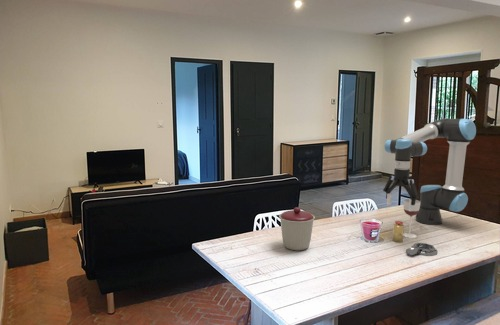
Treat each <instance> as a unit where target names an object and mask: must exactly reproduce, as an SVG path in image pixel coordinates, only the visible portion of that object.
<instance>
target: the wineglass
mask: <svg viewBox="0 0 500 325" xmlns="http://www.w3.org/2000/svg"><path fill="white" fill-rule="evenodd" d="M410 199H411V198H405V199H403V200H402V201H403V202H402V203H403V211H404V213H405V214H406V215H408V216H409V227H408V228H409V230H408V232H406V233H404V232H403V237H406V238H409V239H412V238H415V239H416V238H417V237H418V236H417V234H416V233H415V234H414V233H411V231H412V230H411V229H412V219H413V218H412V217H413V216H416V214H417V213H418V212H419V208H420V199H419V200H418V199H415V205H414V208H413V211H409V200H410Z"/></svg>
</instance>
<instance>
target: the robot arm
mask: <svg viewBox="0 0 500 325" xmlns="http://www.w3.org/2000/svg"><path fill="white" fill-rule="evenodd" d="M476 134H477V127H476V124H475V123H474V121H472V119H468V118H447V117H445V118H441V119H436V120H434V121H431V122H429V123H426V124H425V125H424V127H422V128H420V129H417V130H415V131H413V132H411V133H408V134H406V135H404V136H402V137H399V138H396V139H388V140H386V141H385V143H384V146H383V147H384V151H385V152H386V153H388V154H395V155H394V156H395V158H394V170H393V171H394V172H393V175H388V181H386V184H385V186H384V188H383V189H382V190H383V192H384V193H385V199H386V206H392V199H393V198H392V196H393V195H392V194H393V193H392V192H393V190H394V189H395V188H396V187H397V186H398V187H403V188H404V189H405V191H406V192H407V194H408V196H409V197H410V198H409V199H410V200H409V211H413V208H414V205H415V200H418V199H419V201H420V208H419V212H418V213H417V214H416V215H415V221H416V222H418V223H421V224H424V225H429V226H430V225H431V226H432V225H435V226H436V225H437V226H438V225H442V223H443V217H442V214H441V209H443V210H447V211H451V212H456V213H459V212H461V211H463V210H464V209H465V208H466V206H467V205H468V201H469V197H468V195H467V193H465V188H464V187H463V177H464V171H465V170H464V169H465V162H466V161H465V160H466V154H467V146H468V145H469V144H470V143H471V140H474V139H475V137H476ZM439 138H440V139H446V142H447V143H448V144H449V147H448V148H449V149H448V155H447V166H446V173H445V174H446V175H445V184H444V185H443V186H442V185H440V184H426V185H425V184H424V185H422V186H421V187H420V192H419V193H418V189H417V186H416V183H415V179H409V178H410V173H411V172H410V169H411V158H412V157H421V156H424V155H425V154H426V153H427V152H428V146H427V144H426V143H425V142H426V141H427V140H434V139H439Z"/></svg>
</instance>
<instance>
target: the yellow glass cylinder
mask: <svg viewBox="0 0 500 325" xmlns="http://www.w3.org/2000/svg"><path fill="white" fill-rule="evenodd" d="M404 228H405V226H404V221H401V220H395V221H394V223H393V229H392V230H393V231H392V232H393V233H392V241H393V242H394V243H398V244H399V243H403V241H404V236H403V234H404V230H405V229H404Z"/></svg>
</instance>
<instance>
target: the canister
mask: <svg viewBox="0 0 500 325" xmlns="http://www.w3.org/2000/svg"><path fill="white" fill-rule="evenodd" d="M278 217H279V219H280V226H281V227H280V228H281V236H282V238H281V239H282V242H283V245H284V247H285V248H286V249H288V250H291V251H303V250H307V249H308V248H309V247H310V243H311V241H312V240H311V239H312V233H313V225H314V220H315V218H316V217H315V215H313V214H312V213H311V212H310V211H306V210H301V208H300V207H299V206H298V207H297V206H296V207H294V208H293V209H292V210H286V211H284V212H282V213H280V214H279V215H278Z"/></svg>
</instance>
